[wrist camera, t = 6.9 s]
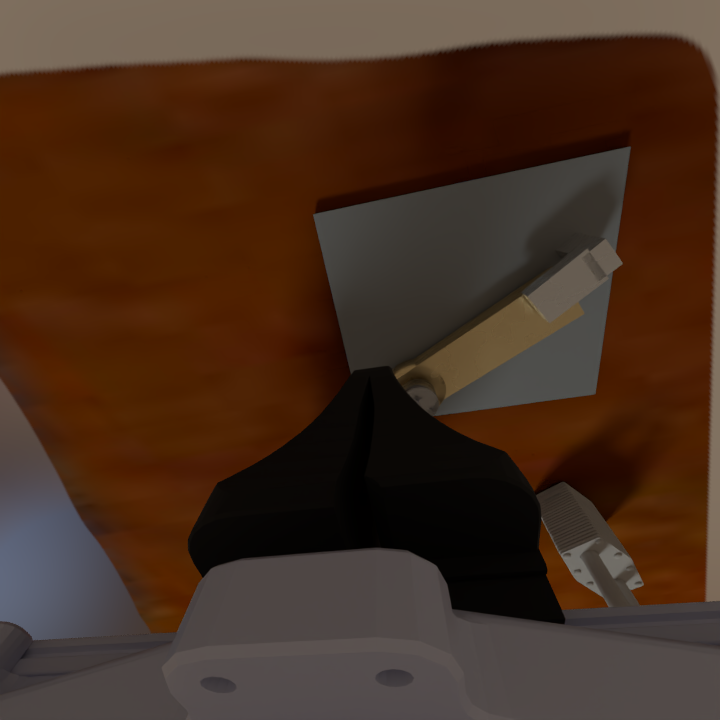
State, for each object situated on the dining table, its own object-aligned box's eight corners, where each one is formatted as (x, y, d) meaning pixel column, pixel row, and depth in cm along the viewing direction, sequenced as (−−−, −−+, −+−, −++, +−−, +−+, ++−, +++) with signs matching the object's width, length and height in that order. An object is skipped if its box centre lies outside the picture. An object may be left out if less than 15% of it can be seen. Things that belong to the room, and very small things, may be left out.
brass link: (408, 415, 23) (410, 424, 22) (375, 379, 22) (375, 387, 21) (576, 311, 19) (587, 317, 18) (548, 261, 18) (558, 265, 17)
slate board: (590, 389, 22) (595, 394, 22) (363, 420, 24) (362, 425, 24) (622, 147, 16) (630, 146, 16) (314, 213, 18) (313, 214, 17)
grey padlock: (522, 498, 27) (596, 648, 18) (569, 475, 26) (671, 623, 17) (565, 541, 30) (648, 693, 21) (609, 521, 28) (719, 674, 19)
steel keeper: (529, 308, 19) (549, 323, 17) (508, 284, 19) (527, 296, 17) (593, 257, 18) (624, 266, 16) (574, 229, 17) (603, 235, 15)
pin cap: (437, 406, 21) (440, 418, 20) (401, 411, 21) (403, 423, 20) (433, 376, 20) (437, 387, 19) (396, 381, 20) (398, 392, 19)
